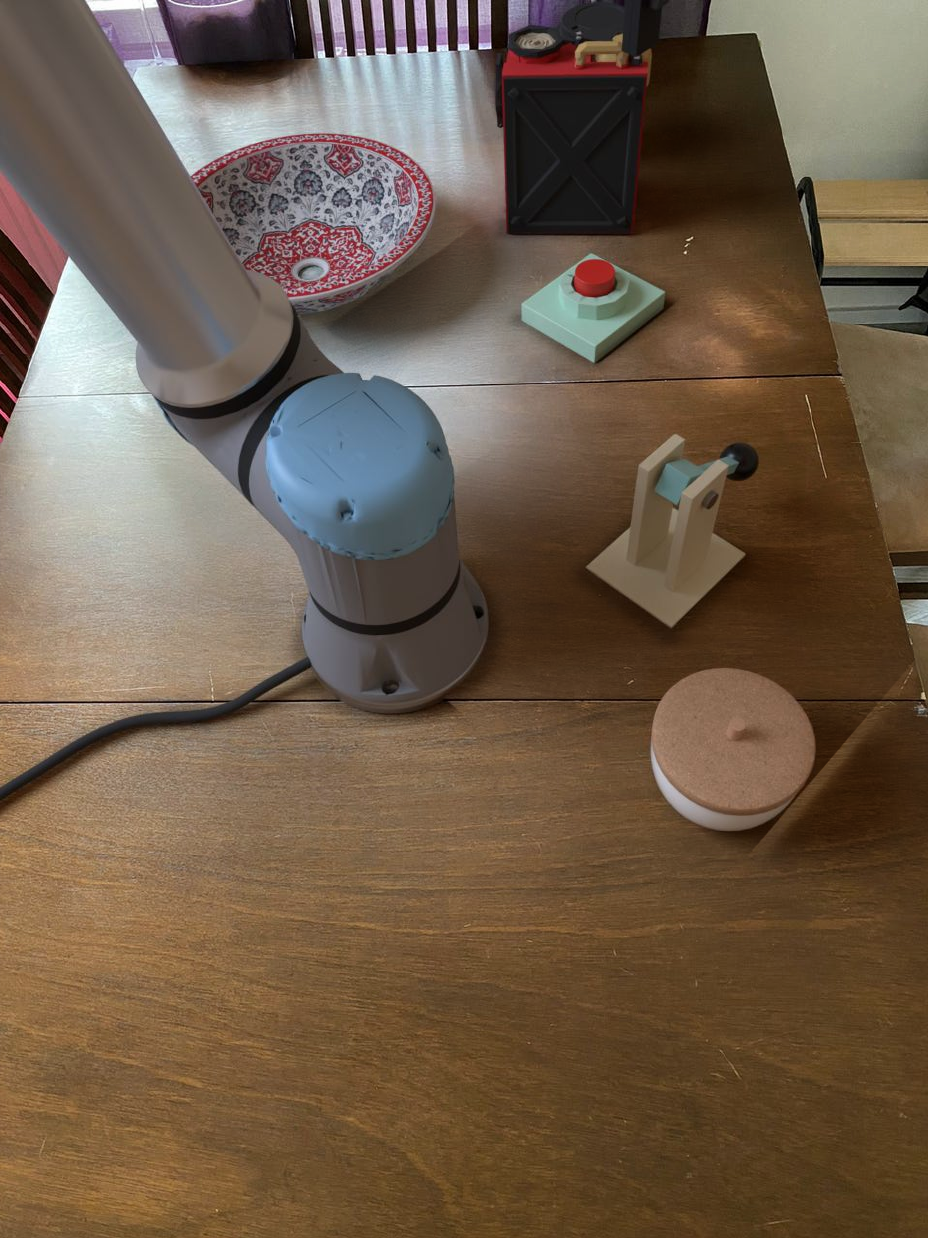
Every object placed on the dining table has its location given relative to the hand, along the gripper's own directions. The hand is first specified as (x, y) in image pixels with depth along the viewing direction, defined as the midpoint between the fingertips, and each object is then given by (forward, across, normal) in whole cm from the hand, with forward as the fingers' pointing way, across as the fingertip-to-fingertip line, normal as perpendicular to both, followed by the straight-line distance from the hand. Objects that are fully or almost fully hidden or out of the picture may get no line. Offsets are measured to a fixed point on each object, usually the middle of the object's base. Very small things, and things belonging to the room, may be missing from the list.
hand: (640, 46), depth 76 cm
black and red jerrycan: (+29, +18, -13) cm, 36 cm away
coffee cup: (+29, +24, -24) cm, 44 cm away
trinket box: (+29, -37, +33) cm, 57 cm away
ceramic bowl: (+29, +32, +14) cm, 45 cm away
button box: (+28, +4, -1) cm, 29 cm away
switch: (+21, -22, +16) cm, 35 cm away
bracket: (+28, -22, +20) cm, 41 cm away
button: (+25, +4, -1) cm, 25 cm away
